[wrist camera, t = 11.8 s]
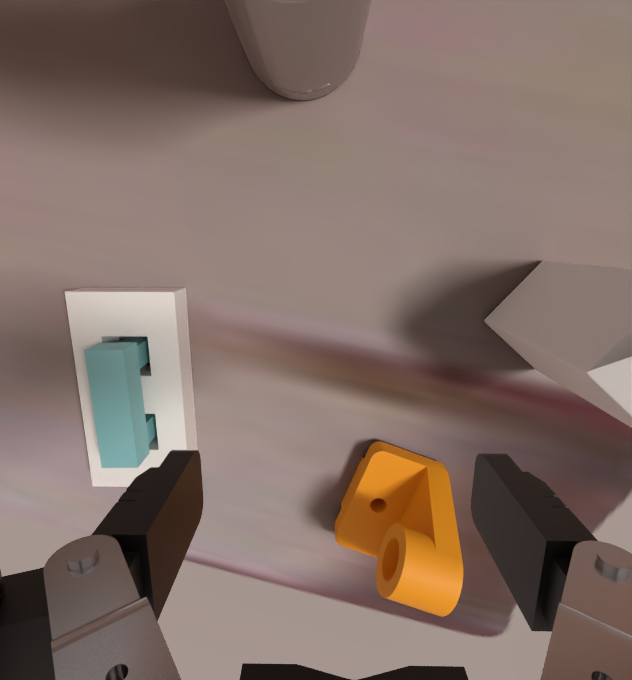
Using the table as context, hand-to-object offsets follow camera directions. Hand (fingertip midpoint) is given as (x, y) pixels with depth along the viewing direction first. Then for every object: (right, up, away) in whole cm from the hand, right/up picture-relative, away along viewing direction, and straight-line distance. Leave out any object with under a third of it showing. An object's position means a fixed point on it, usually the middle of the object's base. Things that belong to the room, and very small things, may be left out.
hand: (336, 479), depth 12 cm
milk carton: (+19, +6, +25) cm, 33 cm away
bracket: (+6, -11, +30) cm, 33 cm away
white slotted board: (-17, 0, +27) cm, 32 cm away
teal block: (-17, 0, +27) cm, 32 cm away
